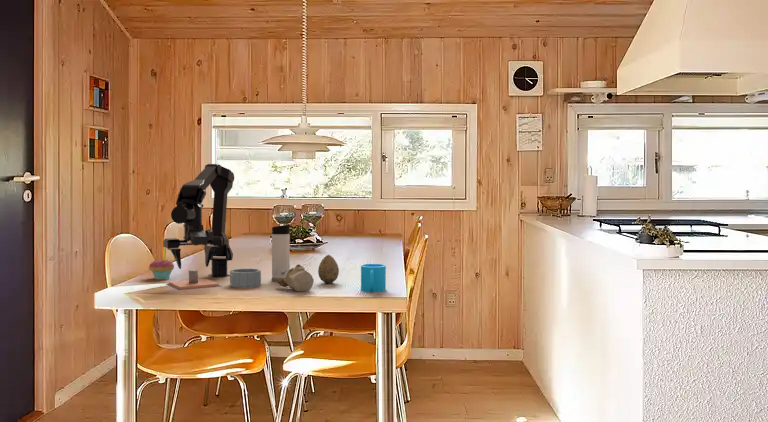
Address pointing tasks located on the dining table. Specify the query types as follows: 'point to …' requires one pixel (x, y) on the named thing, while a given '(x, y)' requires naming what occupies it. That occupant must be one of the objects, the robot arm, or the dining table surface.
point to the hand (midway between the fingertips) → (193, 267)
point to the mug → (373, 277)
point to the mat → (191, 288)
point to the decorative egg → (328, 269)
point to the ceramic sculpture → (297, 279)
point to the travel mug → (280, 252)
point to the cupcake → (161, 268)
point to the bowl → (245, 278)
